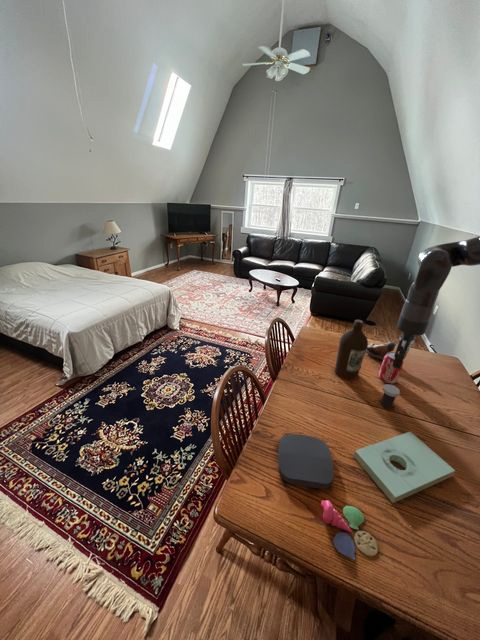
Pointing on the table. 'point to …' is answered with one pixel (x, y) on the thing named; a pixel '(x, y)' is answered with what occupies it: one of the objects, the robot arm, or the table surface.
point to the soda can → (389, 369)
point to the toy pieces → (343, 539)
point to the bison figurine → (380, 350)
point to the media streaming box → (305, 461)
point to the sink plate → (415, 459)
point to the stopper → (389, 395)
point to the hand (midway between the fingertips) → (399, 361)
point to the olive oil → (351, 352)
